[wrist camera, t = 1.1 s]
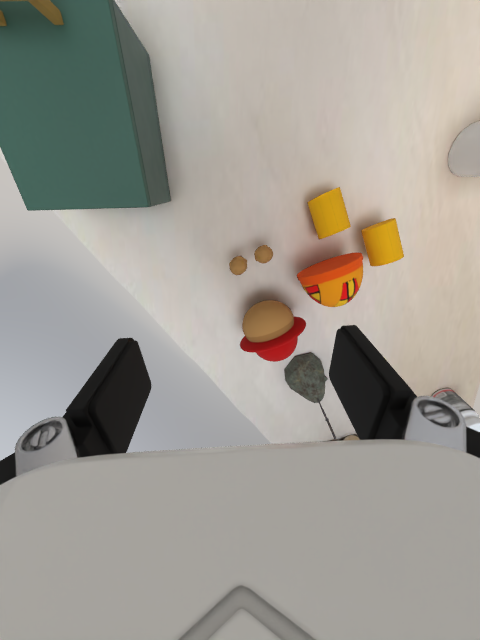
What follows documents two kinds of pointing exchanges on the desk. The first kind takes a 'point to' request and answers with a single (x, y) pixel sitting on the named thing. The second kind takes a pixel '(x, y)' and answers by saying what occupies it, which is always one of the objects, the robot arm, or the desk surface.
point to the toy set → (315, 278)
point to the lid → (67, 107)
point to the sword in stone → (307, 379)
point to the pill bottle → (460, 407)
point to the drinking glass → (466, 152)
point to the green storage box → (143, 109)
